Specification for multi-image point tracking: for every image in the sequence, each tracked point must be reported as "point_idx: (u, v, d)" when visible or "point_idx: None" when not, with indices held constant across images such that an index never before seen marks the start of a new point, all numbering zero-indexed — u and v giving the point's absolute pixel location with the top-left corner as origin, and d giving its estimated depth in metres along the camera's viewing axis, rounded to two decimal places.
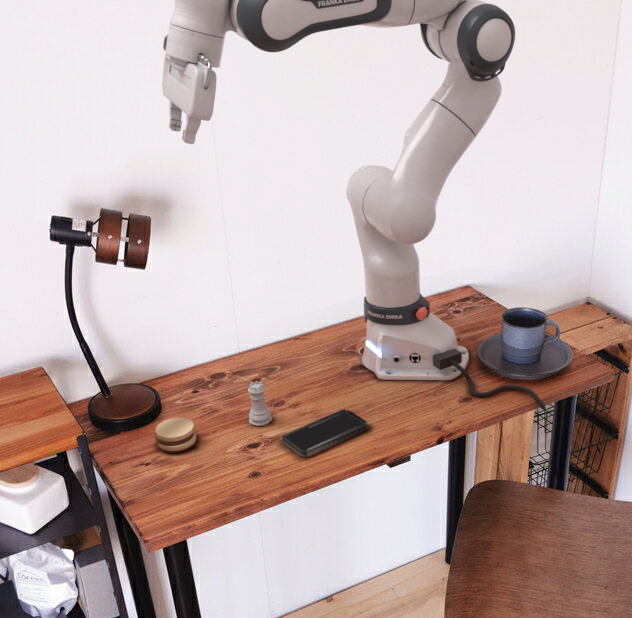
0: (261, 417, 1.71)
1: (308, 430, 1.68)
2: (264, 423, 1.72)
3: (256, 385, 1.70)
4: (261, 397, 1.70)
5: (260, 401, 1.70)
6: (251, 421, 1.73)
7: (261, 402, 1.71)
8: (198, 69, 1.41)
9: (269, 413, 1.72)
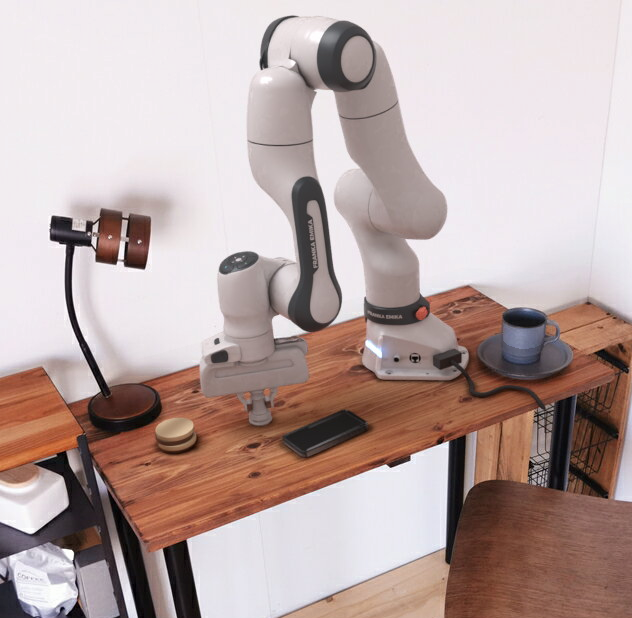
0: (261, 417, 1.71)
1: (308, 430, 1.68)
2: (265, 423, 1.72)
3: None
4: (261, 397, 1.70)
5: (260, 401, 1.70)
6: (251, 421, 1.73)
7: (261, 402, 1.71)
8: (297, 348, 1.66)
9: (269, 413, 1.72)
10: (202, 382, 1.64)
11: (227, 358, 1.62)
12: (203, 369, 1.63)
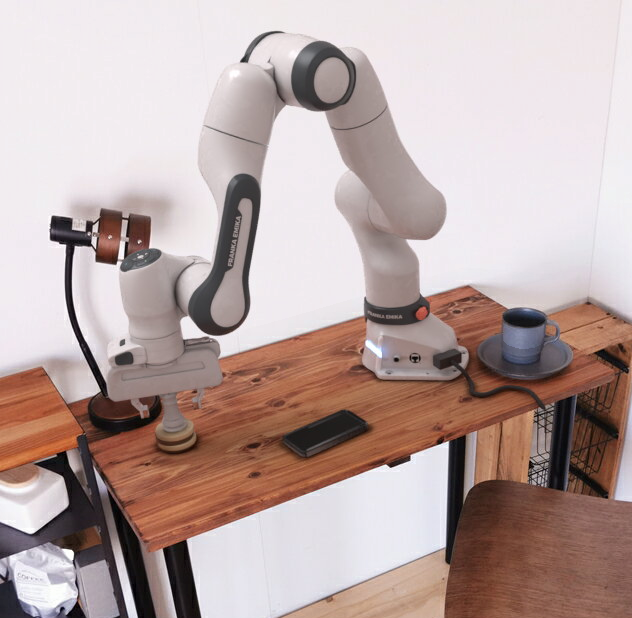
0: (173, 423, 1.64)
1: (308, 430, 1.68)
2: (178, 429, 1.65)
3: None
4: (173, 402, 1.63)
5: (172, 406, 1.63)
6: (164, 427, 1.65)
7: (173, 407, 1.63)
8: (209, 349, 1.59)
9: (182, 419, 1.65)
10: (108, 385, 1.57)
11: (132, 360, 1.54)
12: (108, 372, 1.56)
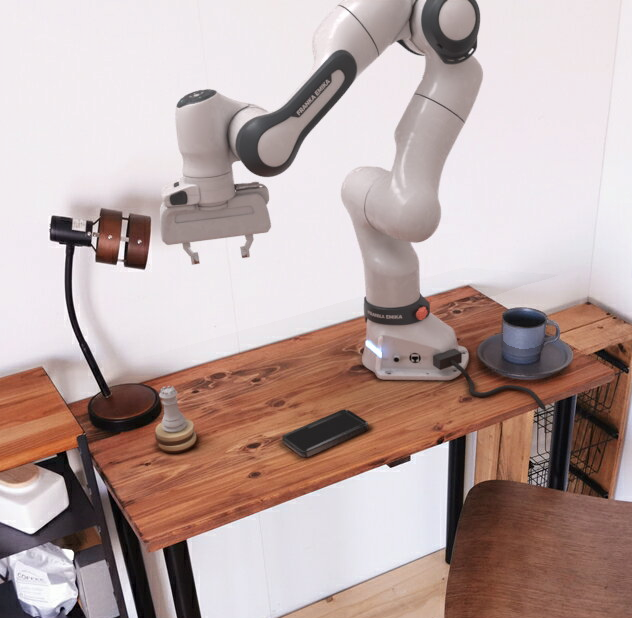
0: (173, 423, 1.64)
1: (308, 430, 1.68)
2: (178, 429, 1.65)
3: (168, 390, 1.63)
4: (173, 402, 1.63)
5: (172, 406, 1.63)
6: (164, 427, 1.65)
7: (173, 407, 1.63)
8: (258, 194, 1.65)
9: (182, 419, 1.65)
10: (162, 227, 1.64)
11: (186, 200, 1.61)
12: (162, 212, 1.62)
